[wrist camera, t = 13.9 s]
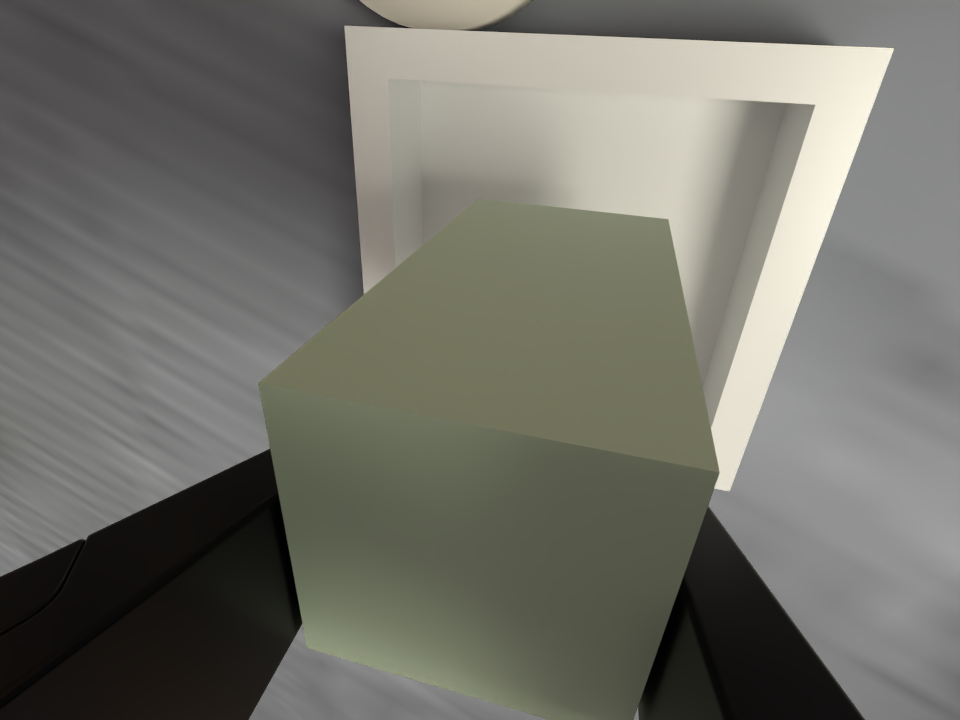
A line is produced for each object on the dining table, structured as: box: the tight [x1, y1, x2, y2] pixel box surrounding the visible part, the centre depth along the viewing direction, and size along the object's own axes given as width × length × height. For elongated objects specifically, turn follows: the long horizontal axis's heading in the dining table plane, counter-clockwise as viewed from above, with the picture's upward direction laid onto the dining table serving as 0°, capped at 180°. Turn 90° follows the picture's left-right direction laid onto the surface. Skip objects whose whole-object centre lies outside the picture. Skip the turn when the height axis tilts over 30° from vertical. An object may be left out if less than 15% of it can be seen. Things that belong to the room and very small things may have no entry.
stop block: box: [258, 199, 720, 720], centre depth 9 cm, size 4×4×8 cm
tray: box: [344, 26, 894, 491], centre depth 15 cm, size 11×11×3 cm
